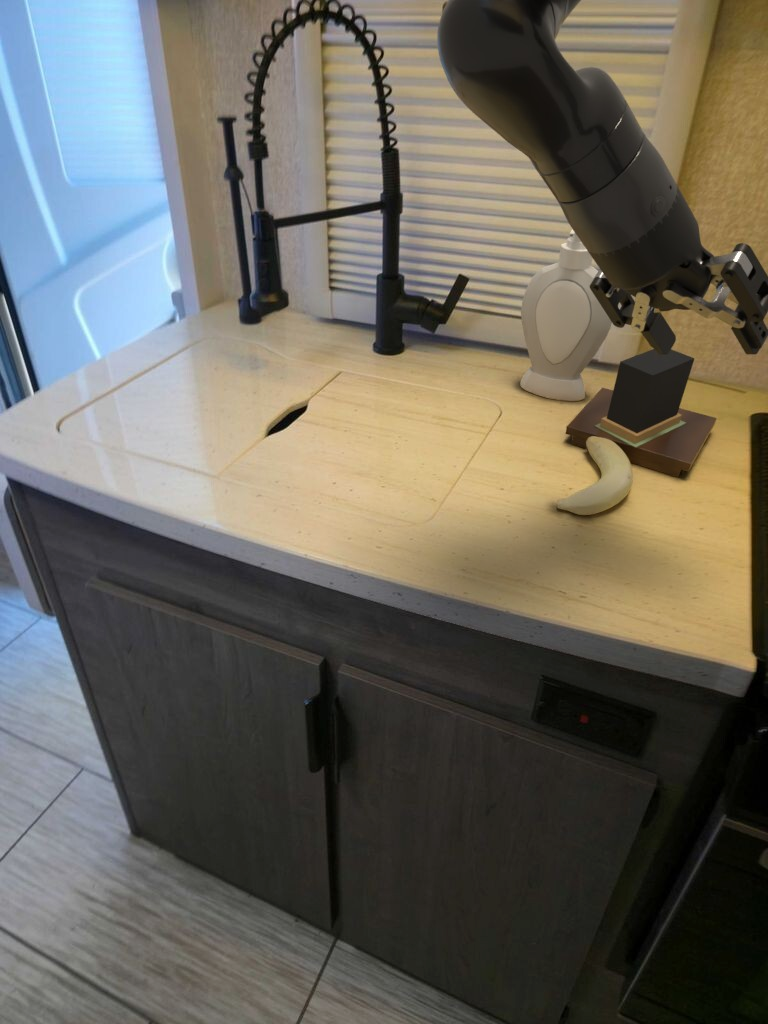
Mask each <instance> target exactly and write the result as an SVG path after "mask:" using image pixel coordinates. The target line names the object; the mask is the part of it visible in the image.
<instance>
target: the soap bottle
mask: <svg viewBox="0 0 768 1024" xmlns="http://www.w3.org/2000/svg"><path fill="white" fill-rule="evenodd" d="M568 236H569V237H567V239H566V242H563V243H561V245H560V249H559V256H558V261H557V262H555V263H552V264H549V265H546V266H543V267H541V268H540V269H539V270H538V271H537V272H536V273H535V274H534V275H533V276H531V279H530V281H529V283H528V285H527V287H526V290H525V291H524V295H523V299H522V302H521V308H520V309H521V310H520V317H521V326H522V331H523V336H524V342H525V345H526V349H527V353H528V357H529V362H530V365H531V366H530V367H529V368H527V370H526V371H525V373H524V375H523V376H522V377H521V379H520V382H519V385H520V388H522V389H523V390H524V391H525V392H526V391H527V392H529V393H531V394H533V395H536V396H539V397H542V398H546V399H551V400H557V401H567V402H578V401H582V400H584V399H585V398H586V390H585V385H584V381H583V380H584V379H583V377H582V373H583V372H584V370H585V369H586V367H587V366H588V365H589V364H590V362H591V361H592V360H593V358H594V357H595V356H596V354H597V353H598V352H599V350H600V348H601V346H602V345H603V343H604V342H605V340H606V338H607V336H608V334H609V333H610V330H611V327H612V324H613V323H612V322H611V320H610V319H609V317H608V315H607V314H606V312H605V311H604V309H603V308H602V306H601V305H600V303H599V302H598V300H597V298H596V297H595V295H594V294H593V292H592V291H591V289H590V284H591V283H592V281H593V279H594V277H595V276H596V274H597V272H598V271H599V270H597V268H595V267H594V266H592V262H593V258H592V256H591V255H590V254H589V252H588V251H587V249H586V248H585V246H584V245H583V244H582V242H581V241H580V239H579V238H578V236H577V235H576V233H575V232H574V231H573V229H572V228H571V231H570V232H569V235H568Z"/></svg>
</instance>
